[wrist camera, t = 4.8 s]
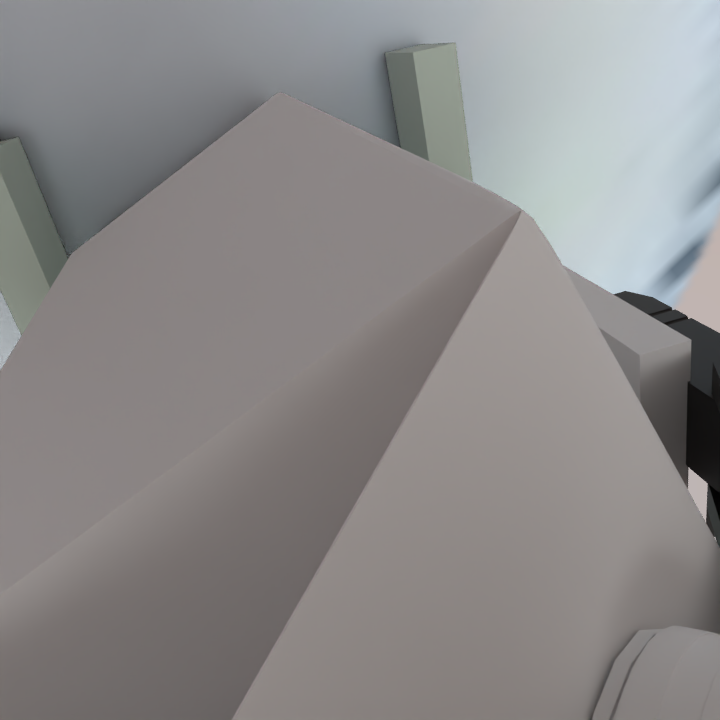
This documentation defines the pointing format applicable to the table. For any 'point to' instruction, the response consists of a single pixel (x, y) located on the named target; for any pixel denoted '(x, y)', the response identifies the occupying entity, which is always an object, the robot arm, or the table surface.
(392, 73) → the rack
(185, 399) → the milk carton
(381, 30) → the table surface
